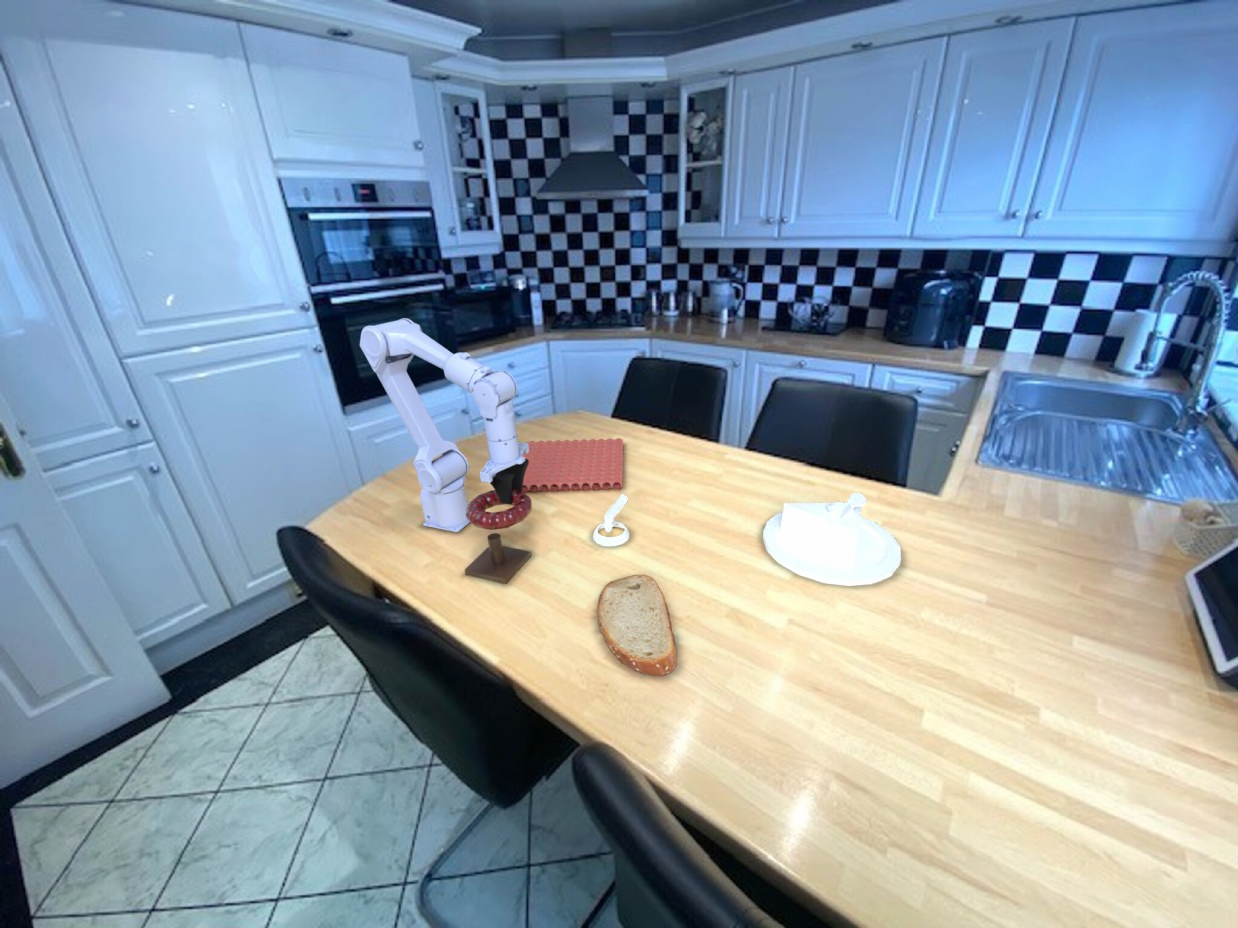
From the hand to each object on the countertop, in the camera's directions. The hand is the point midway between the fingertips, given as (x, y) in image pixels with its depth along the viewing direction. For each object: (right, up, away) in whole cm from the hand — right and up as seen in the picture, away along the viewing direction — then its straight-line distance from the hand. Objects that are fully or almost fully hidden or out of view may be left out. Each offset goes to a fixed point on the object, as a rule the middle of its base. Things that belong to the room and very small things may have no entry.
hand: (511, 498), depth 102 cm
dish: (+63, -9, -3) cm, 64 cm away
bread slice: (+25, -19, -20) cm, 37 cm away
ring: (-2, -2, -4) cm, 5 cm away
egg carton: (+9, +6, +34) cm, 36 cm away
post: (-1, -13, -4) cm, 13 cm away
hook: (+20, -8, +3) cm, 22 cm away
